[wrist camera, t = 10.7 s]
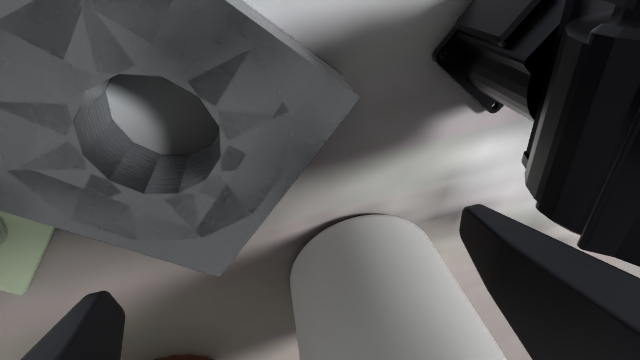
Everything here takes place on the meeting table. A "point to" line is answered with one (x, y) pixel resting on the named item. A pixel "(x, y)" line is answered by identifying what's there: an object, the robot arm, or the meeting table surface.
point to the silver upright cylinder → (3, 231)
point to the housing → (141, 163)
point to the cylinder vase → (382, 297)
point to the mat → (21, 252)
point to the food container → (184, 357)
